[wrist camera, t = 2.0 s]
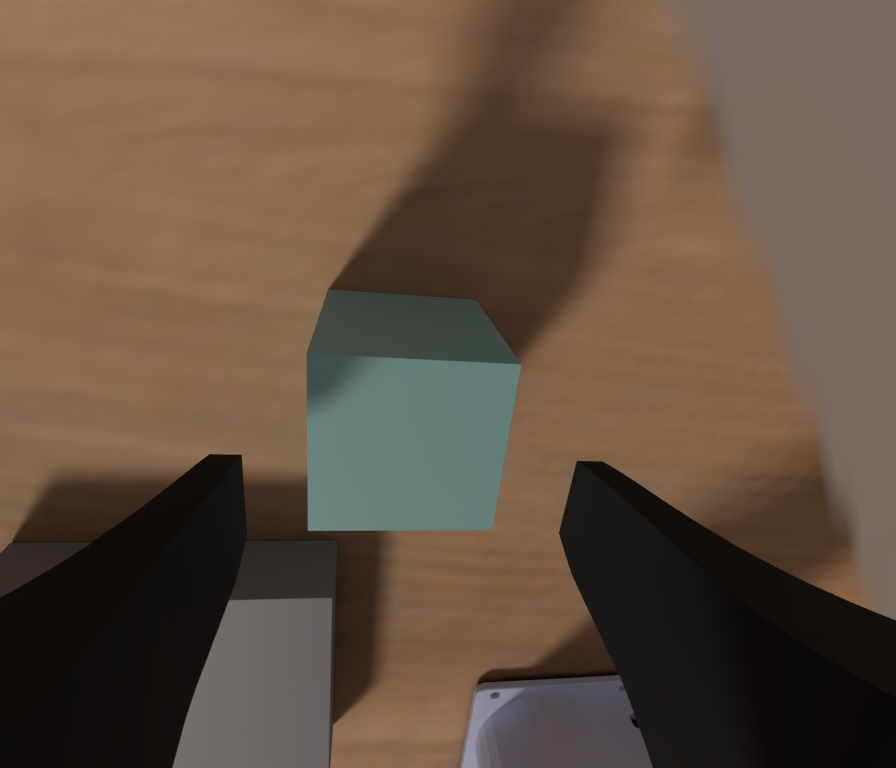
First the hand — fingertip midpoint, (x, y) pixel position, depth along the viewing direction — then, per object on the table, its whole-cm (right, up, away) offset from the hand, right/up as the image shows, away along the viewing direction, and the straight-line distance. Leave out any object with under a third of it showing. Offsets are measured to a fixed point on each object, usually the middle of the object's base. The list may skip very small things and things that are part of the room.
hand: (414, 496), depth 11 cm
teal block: (-1, +3, +7) cm, 8 cm away
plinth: (-10, -9, +11) cm, 18 cm away
